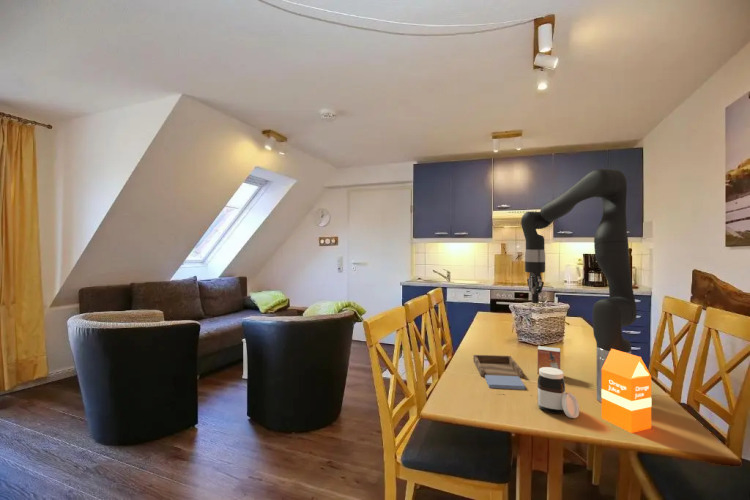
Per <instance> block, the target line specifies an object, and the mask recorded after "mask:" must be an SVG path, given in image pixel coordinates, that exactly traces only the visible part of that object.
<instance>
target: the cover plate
mask: <svg viewBox="0 0 750 500" xmlns="http://www.w3.org/2000/svg"><path fill="white" fill-rule="evenodd" d="M484 379H485V381H486V383H487V386H488V388H489V389H506V390H508V389H509V390H526V385H525V383H524V382H523V380H522V378H519V376H496V375H485V377H484Z"/></svg>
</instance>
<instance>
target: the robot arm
mask: <svg viewBox="0 0 750 500" xmlns="http://www.w3.org/2000/svg"><path fill="white" fill-rule="evenodd" d="M627 184H628V182H627V179H626V175H625V174H624V173H623V172H622V171H621V170H617V169H609V168H607V169H606V168H596V169H594V170H591V171H590V172H588V173H587V174H585V176H583V177H582V178H581V179H580V180H579V181H578V182H576V183H575V184H574V185H572V186H571V187H570V188H569V189H567V190H566V192H563V193H562V194H560V195H559V196H558V197H556V198H554V199H552V200H551V201H548V202H547V203H546V204H544V205H543V206H542V207H541V208H540V211H526V212H525V213H524V214H523V215H522V217H521V222H520V223H521V228H522V232H523V235H524V239H525V253H524V272H526V273H529V276H528V278H527V279H526V281H527V286H528V289H529V292H530V294H531V303H532V304H539V303H540V302H539V301H540V300H539V299H540V298H539V295H540V294H541V293H542V290H543V287H544V283H545V282H544V281H542V274H544V273H545V272H546V252H545V251H546V250H545V237H544V236H543V235H542V234H541V235H540V234H539V233H538V232H537V230H542V229H545V228H548V227H549V226H550V225H551V224H552V223H553V222H554V221H556V220H558V219H560V218H562V217H564V216H566V215H567V214H569V213H570V212H571V211H572V210H573V209H574V208H575V206H577V204H579V203H581V202H583V201H586V200H587V199H591V198H601V202H602V216H601V220H600V222H599V224H598V226H597V228H596V231H595V234H594V237H593V244H594V257H595V261H596V263H597V265H598V266H599V268H600V270H601V272H602V273H603V275H604V277H605V279H606V280H607V285H608V292H609V294H608V295H609V297H608V298H602V299H599V300H598V301H596V302H595V303H594V305H593V307H592V331H593V337H594V339H595V342H596V400H597V401H598V402H600V403H601V404H602V367H603V365H604V363H605V361H606V359H607V357H608V355H609V353H610V351H611V349H615V350H618V351H622V352H625V353H628V354H632V342H631V341H630V340H628V339H626V338H624V337H623V332H622V328H623V327H629V326H631V325H633V324H634V323H635V322H636V321H637V320H636V319H637V315H638V311H637V310H638V309H637V303H636V298H635V295H634V290H633V289H634V288H633V285H632V283H633V282H632V275H631V273H632V272H631V266H630V247H629V237H628V229H627V228H628V227H627V223H628V222H627V193H628V192H627V187H628V185H627Z"/></svg>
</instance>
